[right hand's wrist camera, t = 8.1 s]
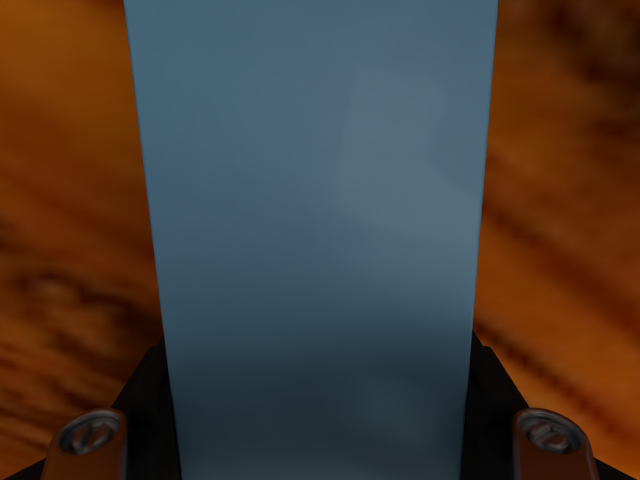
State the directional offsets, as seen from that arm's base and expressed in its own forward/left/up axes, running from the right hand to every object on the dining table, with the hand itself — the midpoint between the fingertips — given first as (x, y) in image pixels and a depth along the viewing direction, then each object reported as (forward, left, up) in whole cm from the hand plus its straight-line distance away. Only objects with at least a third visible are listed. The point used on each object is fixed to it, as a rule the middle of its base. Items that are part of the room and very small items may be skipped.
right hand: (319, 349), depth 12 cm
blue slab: (0, +7, -8) cm, 10 cm away
